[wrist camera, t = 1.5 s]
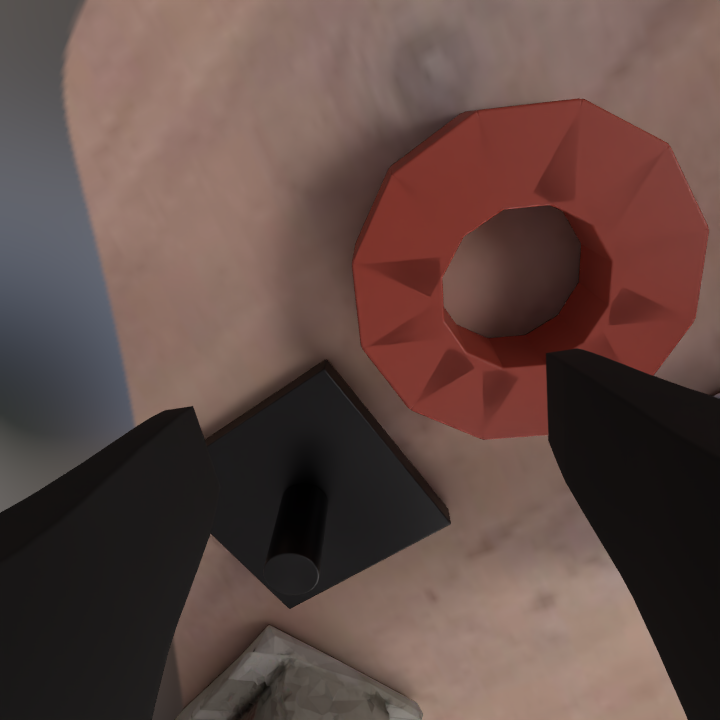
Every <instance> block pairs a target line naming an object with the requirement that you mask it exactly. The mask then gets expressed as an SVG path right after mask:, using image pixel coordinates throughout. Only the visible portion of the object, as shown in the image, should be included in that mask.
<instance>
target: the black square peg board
mask: <svg viewBox="0 0 720 720" xmlns="http://www.w3.org/2000/svg"><path fill="white" fill-rule="evenodd" d="M205 443H206V445H207V448H208V451H209V454H210V457H211V460H212V463H213V466H214V469H215V472H216V475H217V478H218V480H219V483H220V491H219V497H218V502H217V508H216V513H215V517H214V522H213V526H212V530H211V534H212V535H213V536H214V537H215V538H216V539H217V540H218V541H219V542H220V543H221V544H222V545H223V546H224V547H225V548H226V549H227V550H228V551H230V552H231V553H232V554H233V555H234V556H235V557H236V558H237V559H238V560H239V561H240V562H241V563H242V564H243V565H244V566H245V567H246V568H247V569H248V570H249V571H250V572H251V573H252V574H253V575H254V576H256V577H257V578H258V579H259V580H260V581H261V582H262V583H263V584H264V585H265V586H266V587H267V588H268V589H269V590H270V591H271V592H272V593H273V594H274V595H275V596H276V597H277V598H278V599H279V600H280V601H282V602H283V603H284V604H285V605H286V606H287V607H288V608H289V609H291V608H293V607H294V606H296V605H298V604H300V603H302V602H304V601H306V600H308V599H310V598H312V597H313V596H315V595H317V594H319V593H321V592H323V591H325V590H327V589H329V588H331V587H332V586H334V585H336V584H338V583H340V582H342V581H344V580H346V579H348V578H349V577H351V576H353V575H355V574H357V573H359V572H361V571H363V570H365V569H367V568H368V567H370V566H372V565H374V564H376V563H378V562H380V561H382V560H384V559H386V558H387V557H389V556H391V555H393V554H395V553H397V552H399V551H401V550H403V549H405V548H406V547H408V546H410V545H412V544H414V543H416V542H418V541H420V540H422V539H424V538H425V537H427V536H429V535H431V534H433V533H435V532H437V531H439V530H441V529H442V528H444V527H446V526H448V525H450V524H451V521H450V516H449V510H448V508H447V507H446V506H445V504H444V503H443V502H442V501H441V500H440V498H439V497H438V496H437V495H436V493H435V492H434V491H433V490H432V488H431V487H430V486H429V485H428V483H427V482H426V481H425V480H424V479H423V477H422V476H421V475H420V474H419V472H418V471H417V470H416V469H415V467H414V466H413V465H412V464H411V463H410V461H409V460H408V459H407V458H406V456H405V455H404V454H403V453H402V451H401V450H400V449H399V448H398V446H397V445H396V444H395V443H394V442H393V440H392V439H391V438H390V437H389V435H388V434H387V433H386V432H385V430H384V429H383V428H382V427H381V425H380V424H379V423H378V422H377V421H376V419H375V418H374V417H373V416H372V414H371V413H370V412H369V411H368V409H367V408H366V407H365V406H364V405H363V403H362V402H361V401H360V400H359V398H358V397H357V396H356V395H355V393H354V392H353V391H352V390H351V388H350V387H349V386H348V385H347V384H346V382H345V381H344V380H343V379H342V377H341V376H340V375H339V374H338V372H337V371H336V370H335V369H334V368H333V366H332V365H331V364H330V363H329V361H328V360H327V359H326V360H324V361H322V362H321V363H319V364H318V365H316V366H315V367H313V368H312V369H310V370H309V371H308V372H306V373H305V374H303V375H302V376H300V377H299V378H297V379H296V380H294V381H293V382H291V383H290V384H288V385H287V386H285V387H284V388H282V389H281V390H279V391H278V392H276V393H275V394H273V395H272V396H270V397H269V398H267V399H266V400H264V401H263V402H261V403H260V404H258V405H257V406H255V407H254V408H252V409H251V410H249V411H248V412H246V413H245V414H243V415H242V416H240V417H239V418H237V419H236V420H234V421H233V422H231V423H230V424H228V425H227V426H225V427H224V428H222V429H221V430H219V431H218V432H216V433H215V434H213V435H212V436H210V437H209V438H207V439H206V440H205Z"/></svg>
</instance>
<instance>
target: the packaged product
mask: <svg viewBox="0 0 720 720" xmlns="http://www.w3.org/2000/svg"><path fill="white" fill-rule="evenodd" d="M422 717H423V713H422V711H421V709H420V707H419V705H418V704H417V702H415V701H413V700H411V699H409V698H407V697H405V696H403V695H402V694H400V693H398V692H396V691H394V690H392V689H390V688H389V687H387V686H385V685H383V684H381V683H379V682H377V681H375V680H374V679H372V678H370V677H368V676H366V675H364V674H362V673H361V672H359V671H357V670H355V669H353V668H351V667H349V666H348V665H346V664H344V663H342V662H340V661H338V660H336V659H334V658H332V657H330V656H328V655H327V654H325V653H323V652H321V651H319V650H317V649H315V648H313V647H311V646H309V645H307V644H305V643H303V642H301V641H299V640H298V639H296V638H294V637H292V636H290V635H288V634H286V633H284V632H282V631H280V630H278V629H276V628H274V627H272V626H270V625H268V626H267V627H266V628H265V629H264V630H263V632H262V633H261V634H260V635H259V636H258V637H257V638H256V639H255V640H254V641H253V643H252V644H251V645H250V646H249V647H248V648H247V649H246V650H245V651H244V652H243V653H242V655H241V656H240V657H239V658H238V659H236V660H235V661H234V662H233V663H232V664H231V665H230V666H229V667H228V668H227V669H226V670H225V671H224V672H223V673H222V674H221V675H220V676H219V677H217V678H216V679H215V680H214V681H213V682H212V683H211V684H210V685H209V686H208V687H207V688H206V689H205V690H204V691H203V692H202V693H201V694H199V695H198V696H197V697H196V698H195V699H194V700H193V701H192V702H191V703H190V704H189V705H188V706H187V707H186V708H184V709H183V710H182V712H181V713H180V714H179V715H178V716H177V718H176V719H175V720H422Z"/></svg>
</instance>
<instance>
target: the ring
mask: <svg viewBox="0 0 720 720" xmlns="http://www.w3.org/2000/svg"><path fill="white" fill-rule="evenodd" d="M545 205H551V206H553V207H555V208H557V209H559V210H561V211H563V213H564V214H565V216H566V218H567V220H568V222H569V223H570V225H571V227H572V229H573V230H574V232H575V234H576V236H577V238H578V239H579V241H580V243H581V254H580V271H579V283H578V284H577V286H576V287H575V289H574V290H573V292H572V294H571V295H570V297H569V298H568V300H567V301H566V303H565V305H564V306H563V308H562V309H561V311H560V313H559V314H558V316H556V317H554V318H553V319H551V320H549V321H548V322H546V323H544V324H543V325H541V326H539V327H538V328H536V329H535V330H533V331H531V332H530V333H528V334H526V335H521V336H509V337H498V338H486V337H483V336H481V335H479V334H477V333H474V332H472V331H470V330H468V329H465V328H463V327H461V326H459V325H456V324H455V322H454V321H453V319H452V318H451V316H450V315H449V314H448V312H447V311H446V309H445V308H444V306H443V284H442V277H443V275H444V273H445V271H446V270H447V268H448V266H449V264H450V262H451V260H452V258H453V256H454V254H455V252H456V250H457V249H458V247H459V245H460V243H461V241H462V239H463V237H464V236H466V235H467V234H469V233H470V232H472V231H473V230H475V229H476V228H477V227H479V226H480V225H482V224H483V223H485V222H486V221H488V220H489V219H491V218H492V217H494V216H495V215H496V214H498V213H499V212H501V211H502V210H506V209H516V208H526V207H536V206H545ZM708 234H709V229H708V225H707V223H706V221H705V219H704V217H703V215H702V213H701V211H700V208H699V206H698V204H697V202H696V200H695V198H694V196H693V193H692V191H691V189H690V187H689V185H688V183H687V181H686V179H685V176H684V174H683V172H682V170H681V168H680V166H679V164H678V161H677V159H676V157H675V155H674V153H673V151H672V149H671V147H670V146H669V144H668V143H666V142H665V141H663V140H661V139H659V138H657V137H655V136H653V135H651V134H649V133H647V132H646V131H644V130H642V129H640V128H638V127H636V126H634V125H632V124H630V123H629V122H627V121H625V120H623V119H621V118H619V117H617V116H615V115H613V114H611V113H610V112H608V111H606V110H604V109H602V108H600V107H598V106H596V105H594V104H593V103H591V102H589V101H587V100H585V99H580V98H578V99H570V100H561V101H552V102H543V103H535V104H526V105H517V106H509V107H500V108H491V109H482V110H475V111H467V112H464V113H461V114H459V115H458V116H457V117H455V118H454V119H453V120H451V121H450V122H449V123H447V124H446V125H445V126H443V127H442V128H441V129H439V130H438V131H437V132H435V133H434V134H433V135H432V136H430V137H429V138H428V139H426V140H425V141H424V142H422V143H421V144H420V145H418V146H417V147H416V148H414V149H413V150H412V151H410V152H409V153H408V154H406V155H405V156H404V157H402V158H401V159H400V160H398V161H397V162H396V163H394V164H393V165H392V166H391V167H390V168H389V169H388V171H387V174H386V176H385V178H384V180H383V183H382V185H381V187H380V189H379V192H378V194H377V196H376V198H375V201H374V203H373V205H372V208H371V210H370V212H369V214H368V217H367V219H366V221H365V223H364V226H363V228H362V230H361V232H360V235H359V237H358V239H357V241H356V244H355V249H354V255H353V260H352V271H353V280H354V289H355V298H356V307H357V316H358V324H359V333H360V342H361V347H362V349H363V350H364V352H365V353H366V354H367V356H368V357H369V358H370V359H371V361H372V362H373V363H374V365H375V366H376V367H377V368H378V370H379V371H380V372H381V374H382V375H383V376H384V378H385V379H386V380H387V381H388V383H389V384H390V385H391V387H392V388H393V389H394V390H395V392H396V393H397V394H398V396H399V397H400V398H401V399H402V401H403V402H404V403H405V405H406V406H407V407H408V408H409V409H411V410H412V411H414V412H417V413H419V414H422V415H424V416H426V417H429V418H431V419H434V420H436V421H439V422H441V423H443V424H446V425H448V426H451V427H453V428H456V429H458V430H460V431H463V432H465V433H468V434H470V435H473V436H475V437H477V438H480V439H483V440H487V439H501V438H514V437H528V436H542V435H548V410H547V378H546V353H549V352H556V351H563V350H569V349H576V348H578V349H583V350H586V351H589V352H592V353H595V354H598V355H601V356H603V357H606V358H609V359H611V360H614V361H616V362H619V363H622V364H624V365H627V366H629V367H632V368H634V369H637V370H639V371H642V372H645V373H647V374H650V375H654V374H655V373H656V371H657V370H658V369H659V367H660V366H661V365H662V363H663V362H664V361H665V359H666V358H667V357H668V355H669V354H670V353H671V351H672V350H673V349H674V347H675V346H676V345H677V343H678V342H679V341H680V339H681V338H682V337H683V335H684V334H685V333H686V331H687V330H688V329H689V327H690V326H691V325H692V323H693V322H694V321H695V318H696V312H697V305H698V299H699V292H700V286H701V279H702V273H703V266H704V260H705V253H706V247H707V240H708Z"/></svg>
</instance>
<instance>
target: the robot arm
mask: <svg viewBox="0 0 720 720" xmlns="http://www.w3.org/2000/svg"><path fill="white" fill-rule="evenodd" d="M546 378H547V410H548V441H549V443H550V446H551V448H552V451H553V453H554V456H555V458H556V461H557V463H558V466H559V468H560V470H561V473H562V475H563V477H564V480H565V482H566V484H567V485H568V487H569V489H570V491H571V492H572V494H573V496H574V497H575V499H576V501H577V502H578V504H579V506H580V508H581V509H582V511H583V513H584V514H585V516H586V518H587V519H588V521H589V523H590V524H591V526H592V528H593V529H594V531H595V533H596V534H597V536H598V538H599V539H600V541H601V543H602V544H603V546H604V548H605V549H606V551H607V553H608V554H609V556H610V558H611V559H612V561H613V563H614V564H615V566H616V568H617V569H618V571H619V573H620V574H621V576H622V578H623V580H624V582H625V584H626V585H627V587H628V589H629V591H630V593H631V595H632V597H633V598H634V601H635V603H636V605H637V607H638V609H639V611H640V613H641V616H642V618H643V620H644V622H645V624H646V626H647V629H648V631H649V633H650V635H651V637H652V639H653V642H654V644H655V646H656V648H657V650H658V652H659V655H660V657H661V659H662V661H663V664H664V666H665V668H666V671H667V673H668V675H669V677H670V680H671V682H672V684H673V687H674V689H675V691H676V693H677V696H678V698H679V700H680V702H681V705H682V707H683V709H684V712H685V714H686V716H687V719H688V720H720V393H718V394H716V395H714V396H710V395H707V394H704V393H701V392H698V391H695V390H692V389H689V388H686V387H683V386H680V385H677V384H674V383H672V382H669V381H666V380H663V379H661V378H658V377H655V376H653V375H650V374H647V373H645V372H642V371H639V370H637V369H634V368H632V367H629V366H627V365H624V364H622V363H619V362H616V361H614V360H611V359H609V358H606V357H603V356H601V355H598V354H595V353H592V352H589V351H586V350H583V349H578V348H576V349H569V350H563V351H556V352H549V353H546ZM219 491H220V483H219V480H218V478H217V475H216V472H215V469H214V466H213V463H212V460H211V457H210V454H209V451H208V448H207V445H206V443H205V440H204V437H203V434H202V431H201V428H200V425H199V422H198V419H197V416H196V413H195V410H194V408H193V406H191V407H185V408H178V409H172V410H165V411H163V412H161V413H159V414H157V415H155V416H153V417H151V418H149V419H148V420H146V421H144V422H143V423H141V424H140V425H138V426H137V427H135V428H134V429H132V430H131V431H129V432H128V433H126V434H125V435H123V436H122V437H120V438H119V439H117V440H116V441H114V442H113V443H111V444H110V445H108V446H107V447H105V448H104V449H102V450H101V451H99V452H98V453H96V454H95V455H93V456H92V457H90V458H89V459H88V460H86V461H85V462H83V463H81V464H80V465H78V466H77V467H75V468H74V469H72V470H70V471H69V472H67V473H66V474H64V475H63V476H61V477H59V478H58V479H56V480H55V481H53V482H52V483H50V484H48V485H47V486H45V487H44V488H42V489H41V490H39V491H37V492H36V493H34V494H32V495H31V496H29V497H28V498H26V499H24V500H22V501H20V502H19V503H17V504H15V505H13V506H12V507H10V508H8V509H6V510H4V511H2V512H1V513H0V720H152V716H153V712H154V707H155V703H156V699H157V695H158V691H159V687H160V683H161V679H162V675H163V671H164V667H165V663H166V659H167V655H168V651H169V648H170V645H171V642H172V639H173V636H174V633H175V630H176V627H177V624H178V621H179V618H180V616H181V613H182V610H183V608H184V605H185V602H186V599H187V597H188V594H189V591H190V588H191V586H192V583H193V580H194V578H195V575H196V572H197V569H198V567H199V564H200V561H201V558H202V556H203V553H204V550H205V547H206V544H207V542H208V539H209V536H210V533H211V530H212V526H213V522H214V517H215V513H216V508H217V502H218V497H219Z"/></svg>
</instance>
